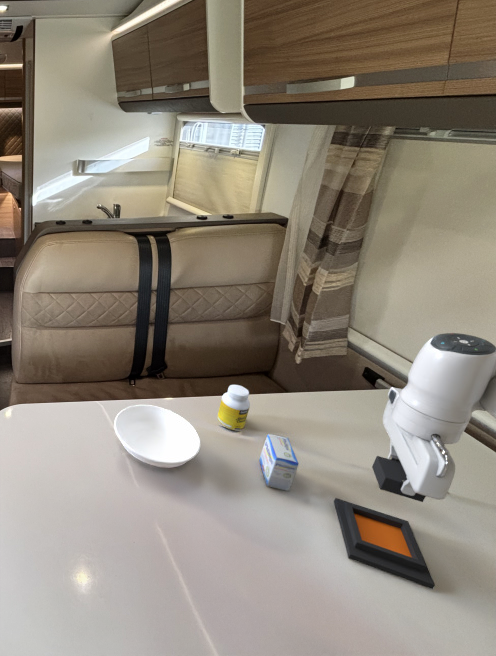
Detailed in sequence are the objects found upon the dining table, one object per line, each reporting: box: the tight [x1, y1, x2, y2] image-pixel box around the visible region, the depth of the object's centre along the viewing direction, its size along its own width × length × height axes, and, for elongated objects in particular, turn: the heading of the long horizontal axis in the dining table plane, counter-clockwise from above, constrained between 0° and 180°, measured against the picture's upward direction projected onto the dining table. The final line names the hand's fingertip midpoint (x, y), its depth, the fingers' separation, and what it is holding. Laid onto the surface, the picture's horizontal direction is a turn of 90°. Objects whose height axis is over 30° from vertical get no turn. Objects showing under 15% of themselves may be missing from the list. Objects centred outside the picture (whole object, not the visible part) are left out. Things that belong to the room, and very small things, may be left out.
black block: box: [371, 455, 427, 503], centre depth 80 cm, size 6×6×3 cm
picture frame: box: [333, 497, 436, 590], centre depth 84 cm, size 12×14×3 cm
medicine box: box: [258, 433, 299, 492], centre depth 97 cm, size 8×4×9 cm, turn 161°
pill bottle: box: [216, 384, 251, 434], centre depth 112 cm, size 6×6×12 cm
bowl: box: [113, 404, 201, 469], centre depth 105 cm, size 20×20×6 cm
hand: (399, 476), depth 80 cm, fingers closed on black block, 6 cm apart
